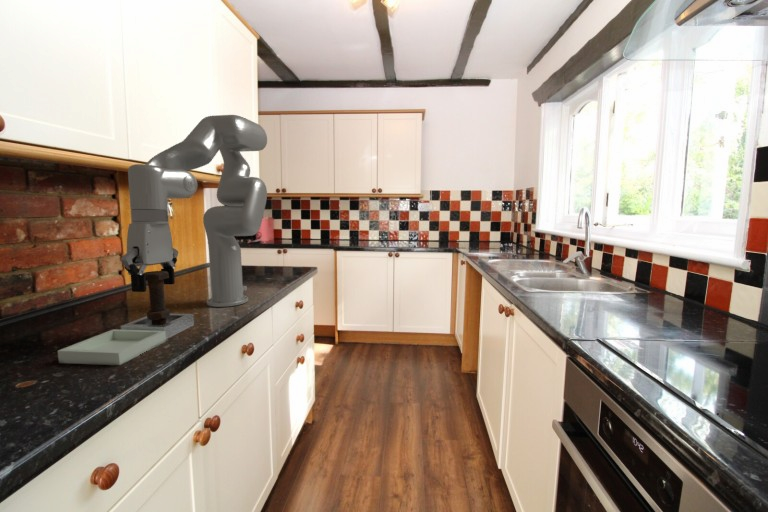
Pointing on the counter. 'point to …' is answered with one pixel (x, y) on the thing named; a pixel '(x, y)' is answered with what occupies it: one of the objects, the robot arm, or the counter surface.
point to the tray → (112, 347)
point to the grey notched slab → (171, 327)
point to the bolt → (157, 297)
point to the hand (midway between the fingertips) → (154, 287)
